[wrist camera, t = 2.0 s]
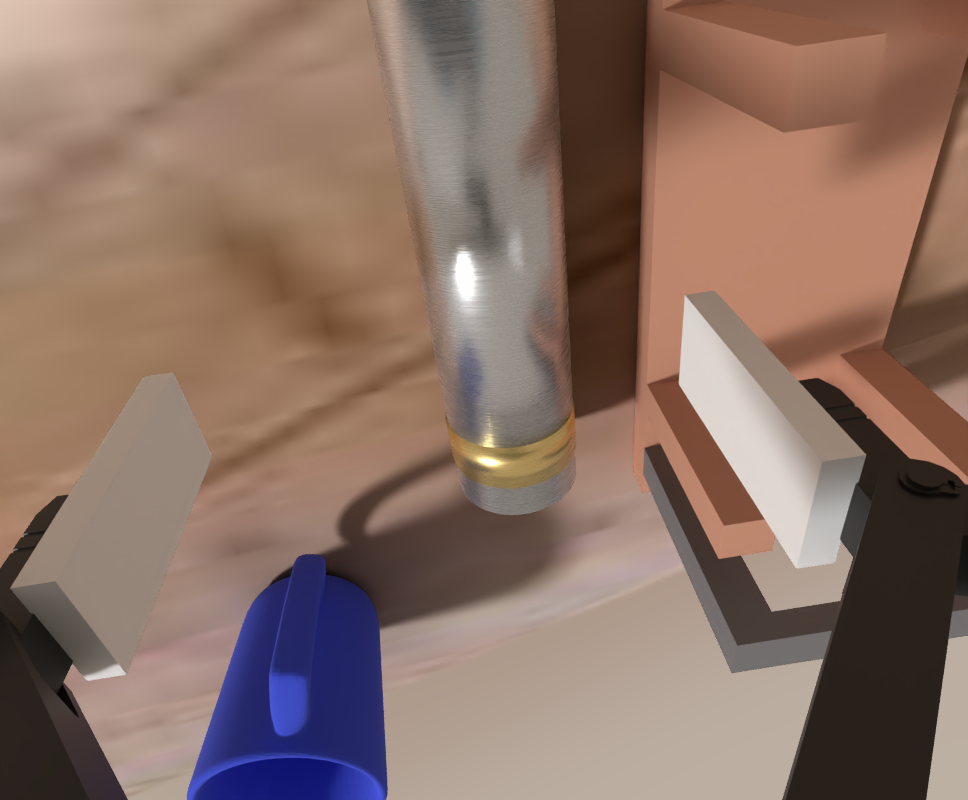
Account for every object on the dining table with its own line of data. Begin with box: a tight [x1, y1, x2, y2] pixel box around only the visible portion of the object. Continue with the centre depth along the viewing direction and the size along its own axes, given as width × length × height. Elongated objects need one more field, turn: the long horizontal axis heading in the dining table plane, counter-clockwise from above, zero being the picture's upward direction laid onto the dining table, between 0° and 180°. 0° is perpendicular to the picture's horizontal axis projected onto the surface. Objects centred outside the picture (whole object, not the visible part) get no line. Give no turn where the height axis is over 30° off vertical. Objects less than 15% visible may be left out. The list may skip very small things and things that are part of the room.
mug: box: [187, 554, 388, 800], centre depth 30 cm, size 8×12×10 cm
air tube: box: [367, 0, 576, 515], centre depth 22 cm, size 20×5×5 cm
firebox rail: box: [633, 0, 968, 673], centre depth 20 cm, size 25×10×12 cm, turn 7°
